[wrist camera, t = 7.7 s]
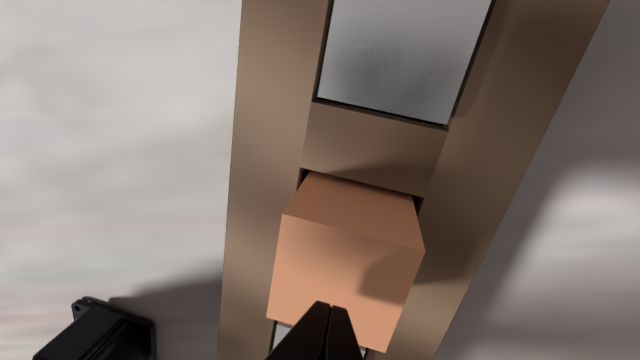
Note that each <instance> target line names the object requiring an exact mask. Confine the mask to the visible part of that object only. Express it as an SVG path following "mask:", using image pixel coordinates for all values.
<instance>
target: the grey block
mask: <svg viewBox="0 0 640 360" xmlns="http://www.w3.org/2000/svg"><path fill="white" fill-rule="evenodd" d="M490 3H491V0H335V1H334V6H333V12H332V18H331V23H330V29H329V34H328V40H327V46H326V51H325V57H324V63H323V68H322V74H321V80H320V85H319V91H318V96H317V97H321V98H326V99H330V100H335V101H339V102H344V103H349V104H353V105H358V106H362V107H367V108H371V109H376V110H381V111H385V112H390V113H394V114H399V115H403V116H408V117H413V118H417V119H422V120H426V121H431V122H436V123H440V124H445V125H447V123H448V120H449V117H450V114H451V111H452V109H453V106H454V103H455V100H456V97H457V95H458V92H459V89H460V86H461V84H462V81H463V78H464V75H465V72H466V70H467V67H468V64H469V61H470V58H471V56H472V53H473V50H474V47H475V44H476V42H477V39H478V36H479V33H480V30H481V28H482V25H483V22H484V19H485V17H486V14H487V11H488V8H489V5H490Z"/></svg>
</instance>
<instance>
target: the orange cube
mask: <svg viewBox="0 0 640 360" xmlns="http://www.w3.org/2000/svg"><path fill="white" fill-rule="evenodd" d="M424 254H425V247H424V243H423V239H422V235H421V231H420V227H419V223H418V219H417V215H416V211H415V207H414V203H413V199H412V195H411V194H407V193H403V192H399V191H395V190H391V189H387V188H383V187H379V186H375V185H371V184H366V183H362V182H358V181H354V180H350V179H346V178H342V177H338V176H334V175H330V174H326V173H321V172H317V171H313V170H310V172H309V173H308V175H307V176H306V178H305V179H304V181H303V182H302V184H301V186H300V187H299V189H298V190H297V192H296V193H295V195H294V196H293V198H292V199H291V201H290V202H289V204H288V206H287V207H286V209H285V210H284V212H283V213H282V218H281V224H280V231H279V237H278V244H277V250H276V257H275V263H274V269H273V276H272V282H271V289H270V295H269V302H268V308H267V315H266V317H267V318H270V319H274V320H277V321H280V322H284V323H287V324H290V325H295V324H296V323H297V322H298V320H299V319H300V318H301V317H302V316H303V315H304V314H305V312H306V311H307V310H308V309H309V308H310V307H311V306H312V304H313V303H314V302H315V301H317V300H319V301H322V302H326V303H329V304H330V305H331V306H332V305H336V306H340V307H343V308H346V309H347V311H348V314H349V317H350V320H351V323H352V326H353V329H354V332H355V335H356V338H357V341H358V344H359V345H360V346H363V347H367V348H370V349H373V350H377V351H380V352H383V353H385V352H386V350H387V347H388V345H389V342H390V340H391V337H392V335H393V332H394V329H395V327H396V324H397V322H398V319H399V317H400V314H401V312H402V309H403V307H404V304H405V302H406V299H407V297H408V294H409V292H410V289H411V287H412V284H413V282H414V279H415V277H416V274H417V272H418V269H419V267H420V264H421V262H422V259H423V257H424Z"/></svg>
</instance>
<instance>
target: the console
mask: <svg viewBox="0 0 640 360" xmlns="http://www.w3.org/2000/svg"><path fill="white" fill-rule="evenodd" d="M609 2H610V0H491V3H490V5H489V8H488V11H487V14H486V17H485V19H484V22H483V25H482V28H481V30H480V33H479V36H478V39H477V42H476V44H475V47H474V50H473V53H472V56H471V58H470V61H469V64H468V67H467V70H466V72H465V75H464V78H463V81H462V84H461V86H460V89H459V92H458V95H457V97H456V100H455V103H454V106H453V109H452V111H451V114H450V117H449V120H448V123H447V125H445V124H443V126H439V125H434V124H430V123H425V122H421V121H416V120H412V119H407V118H402V117H398V116H393V115H389V114H384V113H380V112H375V111H370V110H366V109H361V108H357V107H352V106H348V105H343V104H339V103H334V102H329V101H325V100H320V99H317V95H318V89H319V83H320V78H321V72H322V66H323V61H324V55H325V50H326V44H327V38H328V33H329V27H330V21H331V16H332V10H333V4H334V0H242V10H241V24H240V38H239V52H238V66H237V80H236V94H235V108H234V122H233V137H232V151H231V165H230V179H229V193H228V207H227V221H226V235H225V249H224V264H223V278H222V292H221V306H220V320H219V334H218V348H217V360H264V359H265V358H266V357H267V356H268V355H269V353H270V352H271V351H272V350H273V345H274V339H275V333H276V328H277V324H278V321H277V320H274V319H270V318H267V317H266V315H267V308H268V302H269V295H270V289H271V282H272V276H273V269H274V263H275V257H276V250H277V244H278V237H279V231H280V224H281V218H282V213H283V212H284V210H285V209H286V207H287V206H288V204H289V202H290V201H291V199H292V198H293V196H294V195H295V193H296V192H297V190H298V189H299V187H300V186H301V184H302V179H303V174H304V168H305V169H309V170H313V171H317V172H321V173H326V174H330V175H334V176H338V177H342V178H346V179H350V180H354V181H358V182H362V183H366V184H371V185H375V186H379V187H383V188H387V189H391V190H395V191H399V192H403V193H407V194H411V195H415V196H418V197H417V200H416V203H415V205H414V207H415V211H416V215H417V219H418V223H419V227H420V231H421V235H422V239H423V243H424V247H425V254H424V257H423V259H422V262H421V264H420V267H419V269H418V272H417V274H416V277H415V279H414V282H413V284H412V287H411V289H410V292H409V294H408V297H407V299H406V302H405V304H404V307H403V309H402V312H401V314H400V317H399V319H398V322H397V324H396V327H395V329H394V332H393V335H392V337H391V340H390V342H389V345H388V347H387V350H386V352H385V353H383V352H380V351H377V350H373V349H370V348H367V347H366V350H365V354H364V357H363V359H364V360H432V359H433V357H434V355H435V353H436V351H437V349H438V347H439V345H440V343H441V341H442V339H443V337H444V335H445V333H446V331H447V329H448V327H449V325H450V323H451V321H452V319H453V317H454V315H455V313H456V311H457V309H458V307H459V305H460V303H461V301H462V299H463V297H464V295H465V293H466V291H467V289H468V287H469V285H470V283H471V281H472V279H473V277H474V275H475V273H476V271H477V269H478V267H479V265H480V263H481V261H482V259H483V257H484V255H485V253H486V250H487V248H488V246H489V244H490V242H491V240H492V238H493V236H494V234H495V232H496V230H497V228H498V226H499V224H500V222H501V220H502V218H503V216H504V214H505V212H506V210H507V208H508V206H509V204H510V202H511V200H512V198H513V196H514V194H515V192H516V190H517V188H518V186H519V184H520V182H521V180H522V178H523V176H524V174H525V172H526V170H527V168H528V166H529V164H530V162H531V160H532V158H533V156H534V154H535V152H536V150H537V148H538V146H539V144H540V142H541V140H542V138H543V136H544V133H545V131H546V129H547V127H548V125H549V123H550V121H551V119H552V117H553V115H554V113H555V111H556V109H557V107H558V105H559V103H560V101H561V99H562V97H563V95H564V93H565V91H566V89H567V87H568V85H569V83H570V81H571V79H572V77H573V75H574V73H575V71H576V69H577V67H578V65H579V63H580V61H581V59H582V57H583V55H584V53H585V51H586V49H587V47H588V45H589V43H590V41H591V39H592V37H593V35H594V33H595V31H596V29H597V27H598V25H599V23H600V21H601V19H602V16H603V14H604V12H605V10H606V8H607V6H608V4H609Z"/></svg>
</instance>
